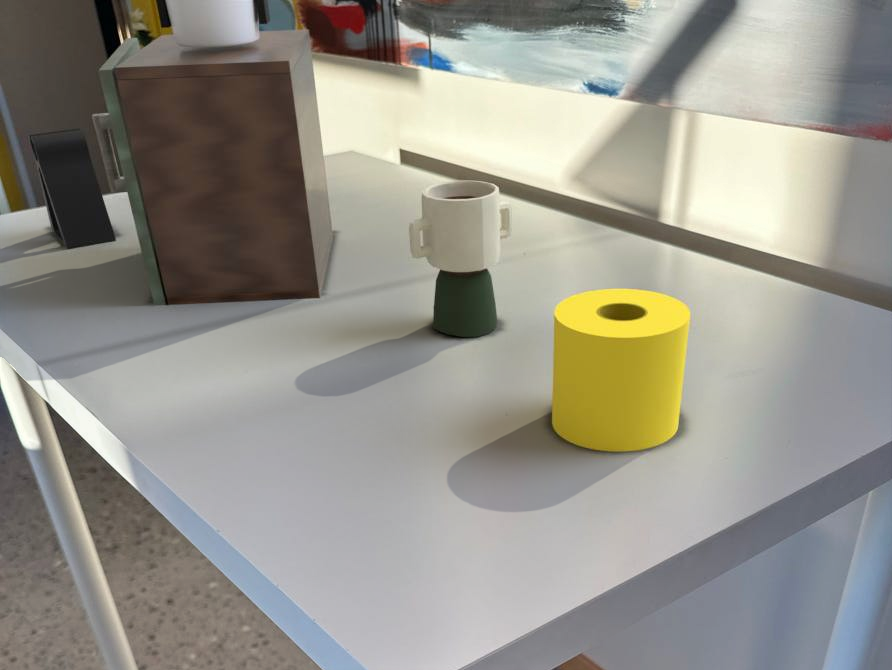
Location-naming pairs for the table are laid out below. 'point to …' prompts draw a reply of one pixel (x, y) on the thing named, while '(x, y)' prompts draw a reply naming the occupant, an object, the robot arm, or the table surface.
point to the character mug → (462, 252)
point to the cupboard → (231, 167)
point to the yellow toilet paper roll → (618, 368)
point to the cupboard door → (126, 163)
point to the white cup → (213, 22)
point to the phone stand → (71, 189)
